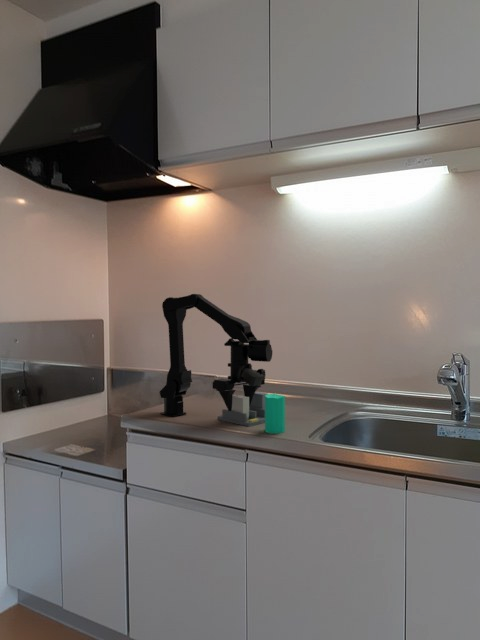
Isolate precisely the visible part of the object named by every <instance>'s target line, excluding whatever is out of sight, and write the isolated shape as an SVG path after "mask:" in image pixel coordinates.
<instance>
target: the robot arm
mask: <svg viewBox="0 0 480 640" xmlns="http://www.w3.org/2000/svg"><path fill="white" fill-rule="evenodd" d="M161 305H162V306H161V308H162V312H163V317H164V319H165V320H166V322H167V326H168V327H167V328H168V343H169V361H170V362H169V363H170V365H169V369H168V372H167V376H166V382H165V383H166V384H165V385H164V386H163V387H162V389H160V390H159V395H160V398H161V399H163V402H164V403H163V405H164V406H163V409H164V410H163V411H162V412H160V415H163V416H167V417H169V418H170V417H171V418H173V417H177V416H183V415H187V412H186V411H184V396H185V395H187V392H188V390H189V388H190V387H191V384H192V383H193V379H192V370H191V369H189V370H188V369H187V367H186V365H185V364H186V363H185V346H184V345H185V344H184V343H185V342H184V325H183V324H184V321H185V319H186V316H187V310H190V309H193V308H195V309H197V311H200V312H201V313H203V314H204V315H205V316H207V317H208V318H210V319H212V320H213V321H214V322H215V323H217V324H219V325H220V326H221V328H222V329H223V331H224V333H226V335H228V336H229V338H228V340H227V341H226V342H225V343H224V346H225V347H230V362H229V363H227V367H230V375H228V376H227V378H218V379H216V378H215V379H214V380H213V381H212V389H213V390H215V391H216V392H218V393H219V395H220V396H221V398H222V399H223V402H224V404H225V406H226V410H228V411H231V410H232V396H233V395H234V393H235V392H236V389H234V388H235V387H236V386H241V385H242V387H243V388H242V389H243V396H245V397H249V407H250V405H251V402H252V399H253V396H254V393H255V392H257V390H258V389H260V388H261V387H262V385H265V384H266V383H265V382H266V381H265V380H266V369H264V368H259V369H257V370H256V369H253V368H252V367H253V365H252V363H249V359H250V361H252V362H264V363H266V362H267V363H269V362H271V360H272V358H273V348H272V345H271V340H270V339H264V340H263V339H262V340H261V339H257V337H256V336H255V334H254V332H253V331H252V328H251V325H250V323H249V322H247V321H246V320H244V319H241V318H240V317H236V316H233V315H231V314H228V313H227V311H225V310H223V309H221V308H219V307H218V306H217V305H215V303H213V302H211V301H210V300H209V299H206V298H205V297H204V296H203V295H202V294H201V293H192V294H191V293H190V294H189V295H185V296H179V297H173V296H170V297H166V298H165V299H164V300H163V302H162V303H161Z"/></svg>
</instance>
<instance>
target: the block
mask: <svg viewBox="0 0 480 640" xmlns="http://www.w3.org/2000/svg"><path fill="white" fill-rule="evenodd" d="M231 411H236V412H241V413H245V414H247V419H249V397H245V395H239V394H233V396H232V410H231Z"/></svg>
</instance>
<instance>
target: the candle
mask: <svg viewBox="0 0 480 640" xmlns="http://www.w3.org/2000/svg"><path fill="white" fill-rule="evenodd" d="M285 423H286V397H285V395H282V394H278V393H277V394H276V393H268V394H267V395H265V423H264V432H266V433H268V434H283V433H285V432H286V424H285Z"/></svg>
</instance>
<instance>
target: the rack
mask: <svg viewBox="0 0 480 640" xmlns="http://www.w3.org/2000/svg"><path fill="white" fill-rule="evenodd" d="M267 394H269V393H267V392H261V391H255V393H254V396H253V399H252V402H251V405H250V407H249V419H247V414H245V413H241V412H236V411H228V409H227V408H226V409H225V408H224V409H223V408H222V410H221V411H222V413H221V414H222V415H217V420H219V421H223V422H228V423H232V424H237V425H240V426H246V427H253V426H257V425H260V424H261V425H262V424H265V395H267Z"/></svg>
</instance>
